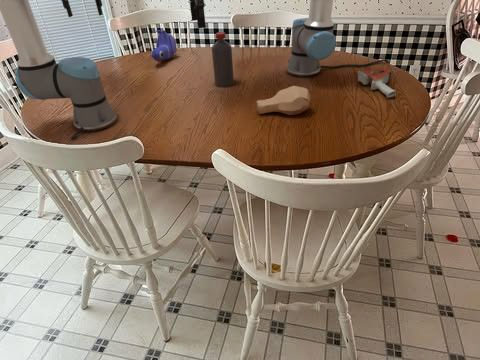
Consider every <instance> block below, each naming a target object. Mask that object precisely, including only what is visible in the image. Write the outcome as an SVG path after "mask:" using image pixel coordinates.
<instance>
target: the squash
mask: <svg viewBox="0 0 480 360" xmlns="http://www.w3.org/2000/svg"><path fill="white" fill-rule="evenodd" d="M311 98H312V97H311V95H310V90H309V89H307V88H306V87H302V86H298V85H292V86H289V87H287V88H283V89H280V90H279V91H277V92H276V94H275V95H274V96H272V97H271V98H265V99H257V100H256V102H255V103H256V107H257V109H256V110H257V113H258V114H259V115H263V114H266V113H273V112H275V113H282V114H284V115H287V116H295V115H300V114H301V113H303V112H305V111H306V110H308V109H309V107H310V102H311Z"/></svg>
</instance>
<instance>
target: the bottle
mask: <svg viewBox="0 0 480 360" xmlns="http://www.w3.org/2000/svg"><path fill="white" fill-rule="evenodd" d="M211 55H212V56H211V57H212V65H213V77H214V85H215V86H216V87H220V88H221V87H222V88H224V87H226V88H227V87H230V86H233V85H234V83H235V79H234V64H233V50H232V45H231V43H229V42H228V41H226V40H225V38H224V39H217V40H216V42H215V43H213V44H212V46H211Z"/></svg>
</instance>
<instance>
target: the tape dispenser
mask: <svg viewBox="0 0 480 360" xmlns="http://www.w3.org/2000/svg"><path fill="white" fill-rule="evenodd" d="M377 71H378V72H377ZM375 72H377V74H374V73H375ZM391 77H392V70H391V69H390V68H388V67H387V66H386V67H377V68H373V69H372V68H371V69H366V70H358V71H357V82H361V83H362V85H367V86H368V85H369V83H370V82H371V84H370V85H371V86H370V90H371V91H375V90H379V91H380V92H381V93H382V94H384V95H385V96H386V98H387V99H389V98H390V99H391V98H392V97H394V96H395V95H396V90H395V89H392V88H391V87H389V86H388V85H387V84H388V83H389V82H390V80H391Z"/></svg>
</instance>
